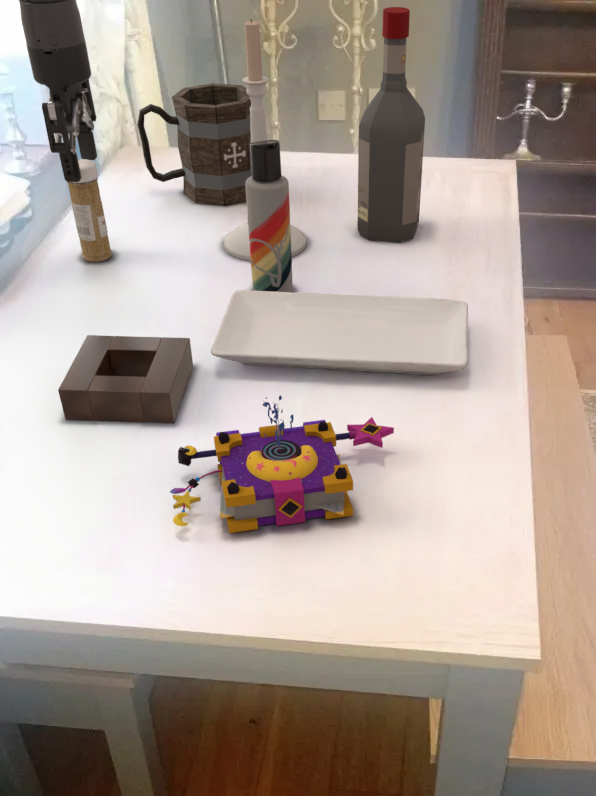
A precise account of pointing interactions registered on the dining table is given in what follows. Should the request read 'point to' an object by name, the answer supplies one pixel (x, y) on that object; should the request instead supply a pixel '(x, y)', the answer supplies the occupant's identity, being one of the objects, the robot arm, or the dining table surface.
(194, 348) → the dining table surface
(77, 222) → the sprinkles bottle
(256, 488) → the book
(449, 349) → the tray
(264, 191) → the lotion bottle
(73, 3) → the robot arm
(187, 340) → the hollow square block
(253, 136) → the candlestick
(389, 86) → the liquor
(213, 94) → the mug
